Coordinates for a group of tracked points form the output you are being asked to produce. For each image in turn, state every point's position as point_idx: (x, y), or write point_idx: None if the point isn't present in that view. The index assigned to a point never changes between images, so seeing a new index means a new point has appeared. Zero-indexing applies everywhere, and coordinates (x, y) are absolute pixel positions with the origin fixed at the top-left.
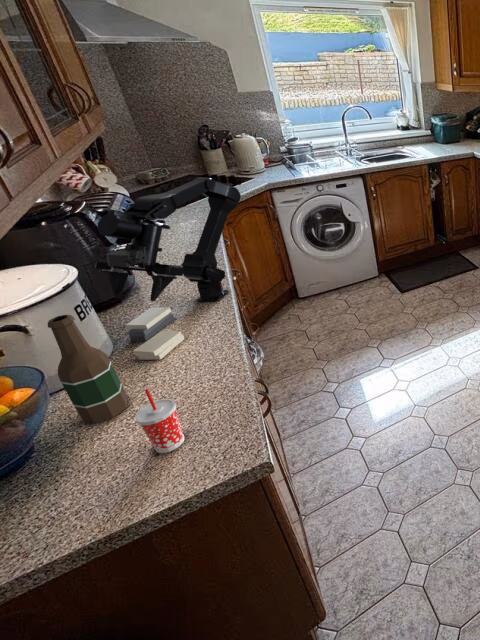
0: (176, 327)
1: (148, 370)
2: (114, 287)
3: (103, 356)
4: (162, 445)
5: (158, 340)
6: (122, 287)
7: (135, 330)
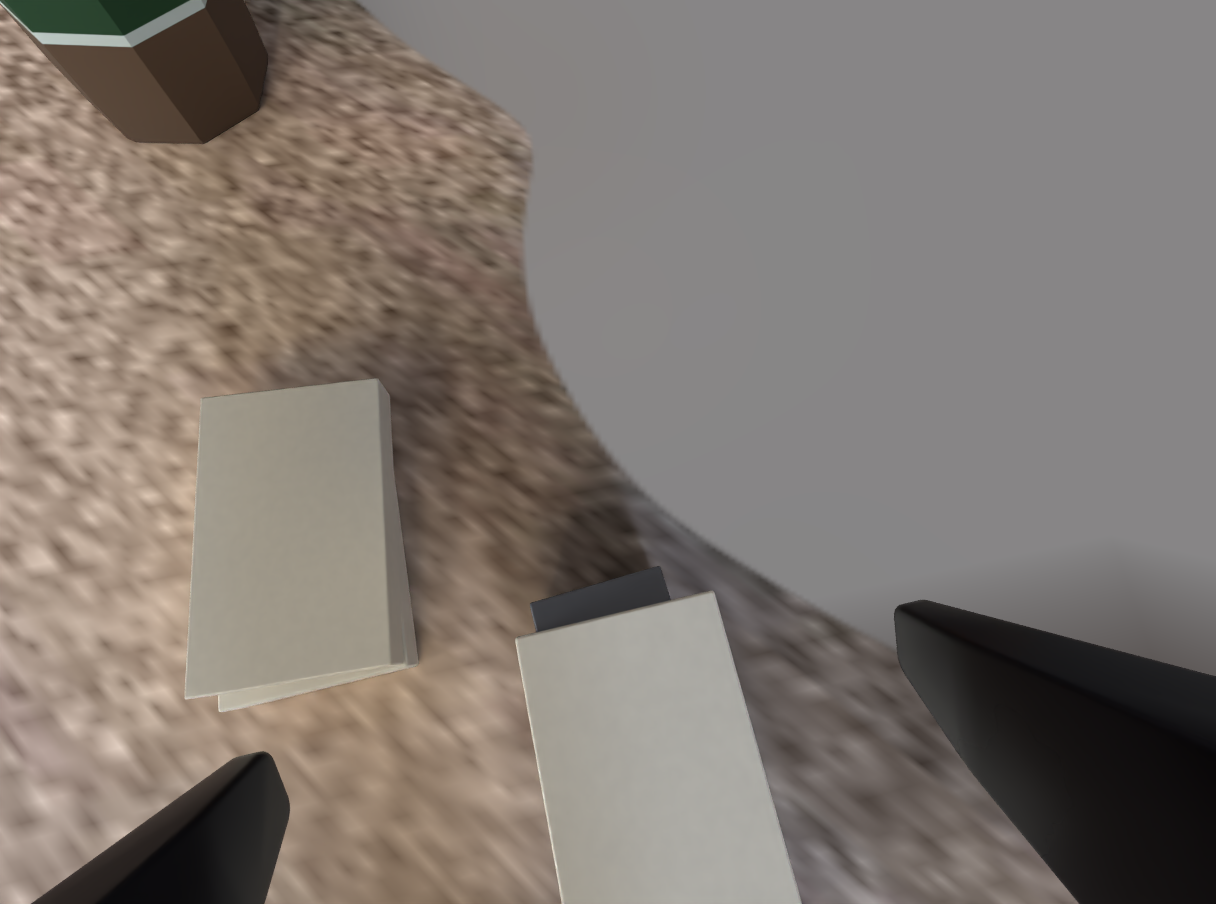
0: (470, 853)
1: (225, 343)
2: (1094, 679)
3: None
4: None
5: (288, 531)
6: (1076, 870)
7: (611, 596)
